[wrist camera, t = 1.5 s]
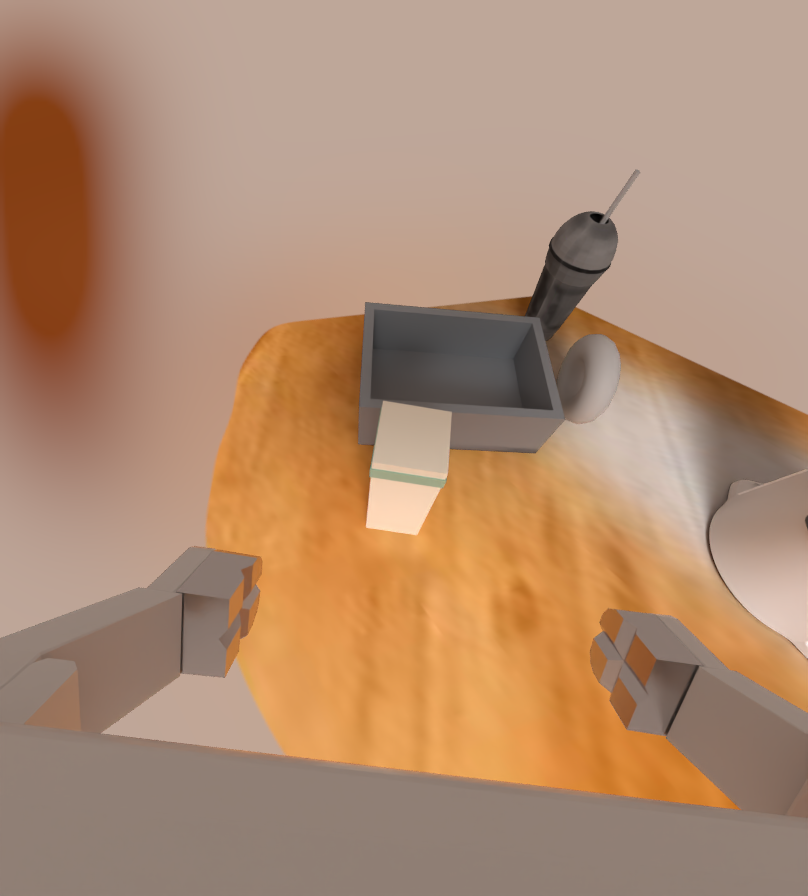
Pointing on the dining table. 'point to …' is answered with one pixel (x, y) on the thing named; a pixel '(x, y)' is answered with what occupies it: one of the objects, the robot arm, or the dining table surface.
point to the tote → (461, 374)
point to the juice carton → (407, 466)
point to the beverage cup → (574, 264)
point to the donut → (588, 378)
